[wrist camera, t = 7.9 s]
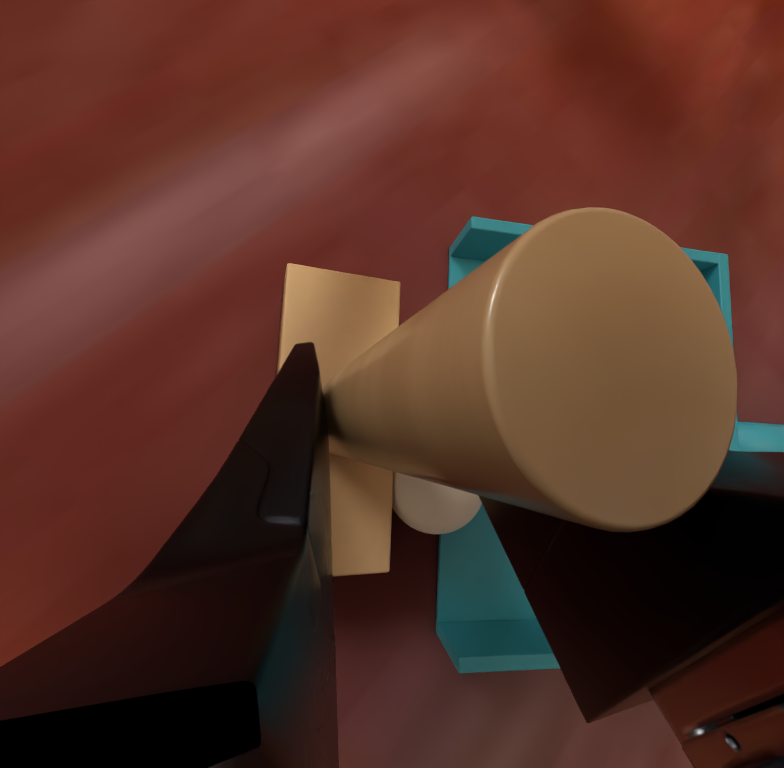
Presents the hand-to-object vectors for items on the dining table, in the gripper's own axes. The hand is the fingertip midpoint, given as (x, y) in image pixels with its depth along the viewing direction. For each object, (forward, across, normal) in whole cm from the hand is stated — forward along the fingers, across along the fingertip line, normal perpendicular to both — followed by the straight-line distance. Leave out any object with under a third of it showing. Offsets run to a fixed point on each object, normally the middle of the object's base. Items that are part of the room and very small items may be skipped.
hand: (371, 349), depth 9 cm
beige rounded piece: (0, -4, +6) cm, 7 cm away
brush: (+4, +1, +6) cm, 7 cm away
